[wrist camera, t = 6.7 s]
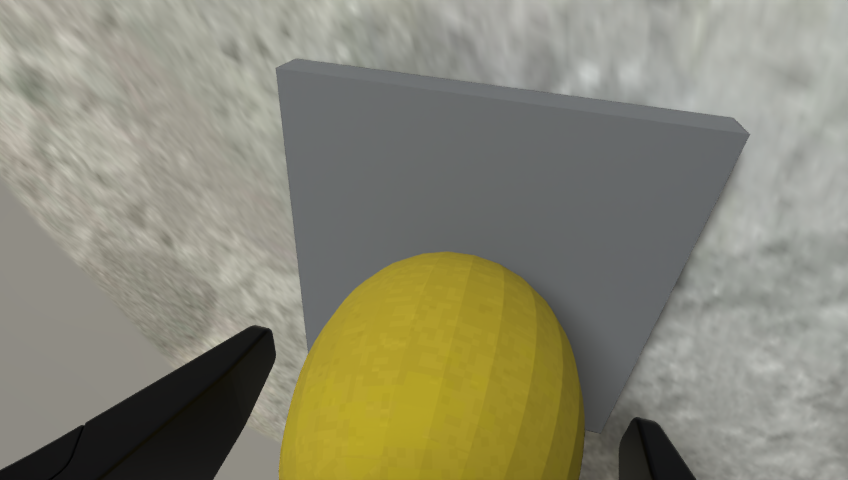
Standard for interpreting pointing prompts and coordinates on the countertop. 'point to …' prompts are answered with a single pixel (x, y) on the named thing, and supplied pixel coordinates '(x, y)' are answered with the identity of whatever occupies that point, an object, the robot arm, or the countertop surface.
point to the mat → (502, 197)
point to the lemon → (438, 381)
